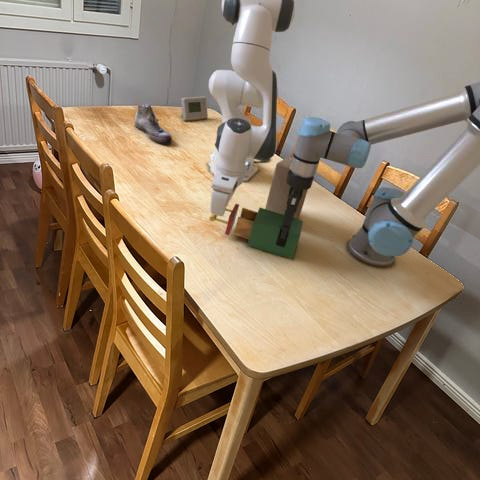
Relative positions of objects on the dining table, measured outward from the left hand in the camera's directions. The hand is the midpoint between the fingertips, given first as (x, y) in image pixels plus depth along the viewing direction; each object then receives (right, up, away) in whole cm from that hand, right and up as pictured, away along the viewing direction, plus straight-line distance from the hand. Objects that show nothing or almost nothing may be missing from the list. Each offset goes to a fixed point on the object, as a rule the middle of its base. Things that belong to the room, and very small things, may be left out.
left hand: (221, 213), depth 139 cm
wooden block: (+21, 0, +18) cm, 27 cm away
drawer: (+6, -5, +1) cm, 8 cm away
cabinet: (+16, -9, +1) cm, 19 cm away
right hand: (+19, -7, -1) cm, 20 cm away
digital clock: (-18, +54, +88) cm, 105 cm away
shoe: (-33, +39, +59) cm, 78 cm away
